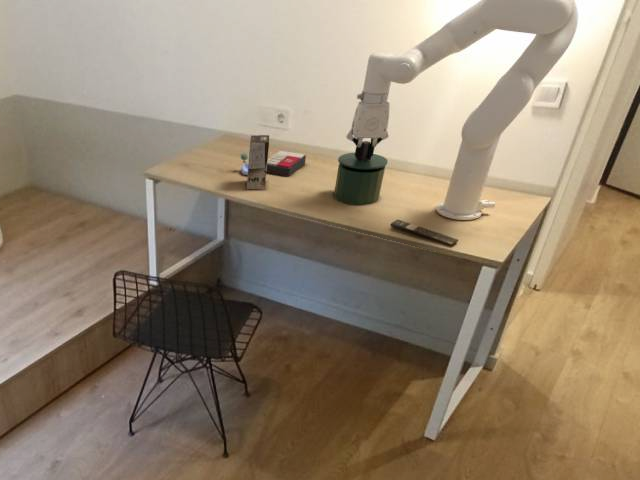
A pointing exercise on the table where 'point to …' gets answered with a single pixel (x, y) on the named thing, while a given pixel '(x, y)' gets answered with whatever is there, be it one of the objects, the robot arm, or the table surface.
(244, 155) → the figurine
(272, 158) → the grey red flat block
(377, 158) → the tin lid
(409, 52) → the robot arm
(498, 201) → the table surface
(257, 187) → the coffee box
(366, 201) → the tin
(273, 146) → the table surface
